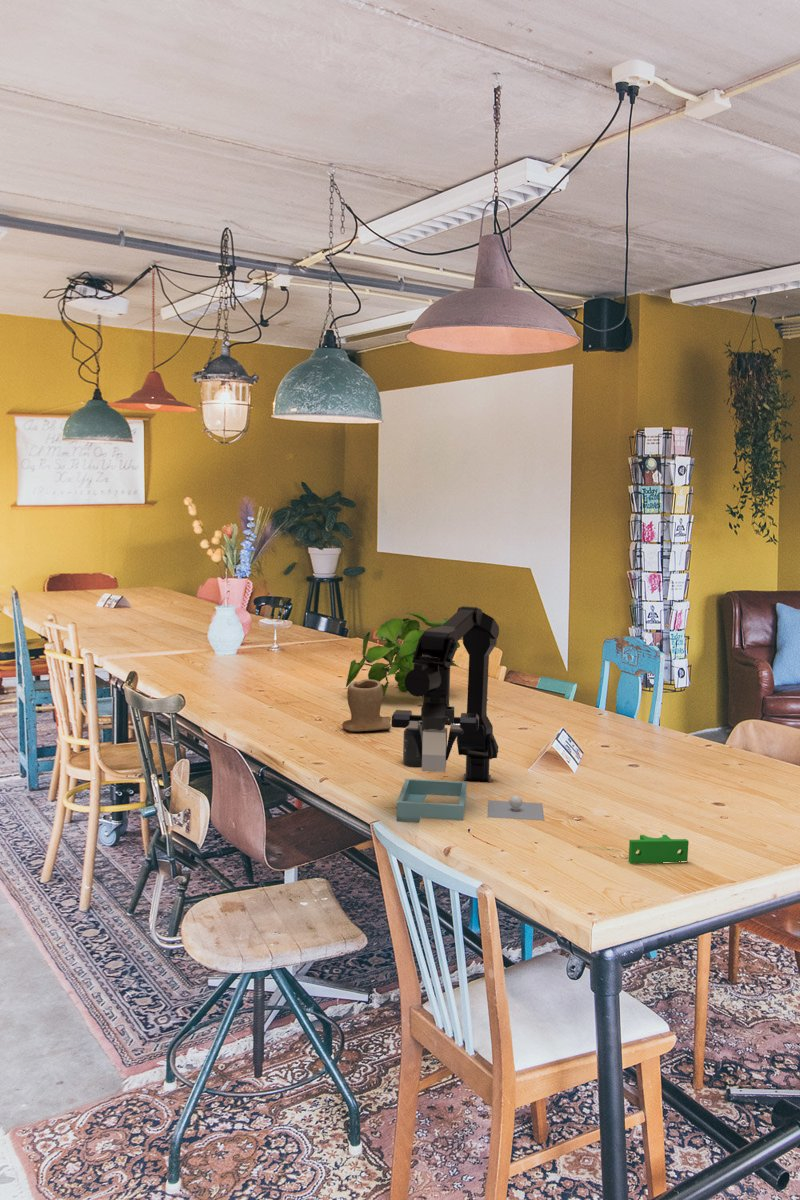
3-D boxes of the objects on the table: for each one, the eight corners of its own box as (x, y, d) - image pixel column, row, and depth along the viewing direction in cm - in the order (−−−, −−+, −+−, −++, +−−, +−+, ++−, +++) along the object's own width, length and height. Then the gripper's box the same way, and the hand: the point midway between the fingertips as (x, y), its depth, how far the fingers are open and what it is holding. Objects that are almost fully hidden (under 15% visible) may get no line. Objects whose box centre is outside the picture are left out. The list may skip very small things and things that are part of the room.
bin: (405, 795, 224) (405, 778, 224) (466, 799, 223) (466, 782, 223) (396, 820, 207) (396, 802, 206) (462, 824, 205) (463, 806, 205)
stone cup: (347, 736, 280) (349, 684, 278) (339, 727, 291) (340, 677, 290) (399, 734, 284) (400, 683, 282) (388, 725, 295) (389, 676, 294)
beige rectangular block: (421, 770, 212) (422, 731, 211) (423, 764, 217) (424, 726, 216) (444, 772, 211) (446, 732, 210) (446, 765, 216) (447, 727, 215)
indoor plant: (422, 698, 303) (384, 609, 307) (344, 735, 332) (311, 654, 336) (508, 665, 334) (472, 585, 338) (430, 702, 363) (399, 628, 367)
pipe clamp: (679, 857, 190) (681, 834, 190) (687, 864, 186) (688, 841, 186) (623, 857, 189) (625, 834, 188) (630, 864, 185) (631, 841, 185)
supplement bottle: (399, 761, 254) (400, 715, 253) (423, 759, 256) (425, 714, 255) (408, 768, 248) (409, 721, 247) (433, 766, 250) (434, 720, 249)
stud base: (488, 804, 219) (488, 786, 219) (542, 807, 218) (542, 789, 218) (487, 821, 208) (487, 802, 207) (544, 825, 206) (545, 805, 206)
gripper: (389, 694, 205) (387, 766, 207) (478, 698, 203) (476, 771, 205) (395, 684, 216) (393, 753, 218) (480, 688, 214) (477, 757, 216)
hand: (434, 759), depth 214 cm, fingers closed on beige rectangular block, 5 cm apart
